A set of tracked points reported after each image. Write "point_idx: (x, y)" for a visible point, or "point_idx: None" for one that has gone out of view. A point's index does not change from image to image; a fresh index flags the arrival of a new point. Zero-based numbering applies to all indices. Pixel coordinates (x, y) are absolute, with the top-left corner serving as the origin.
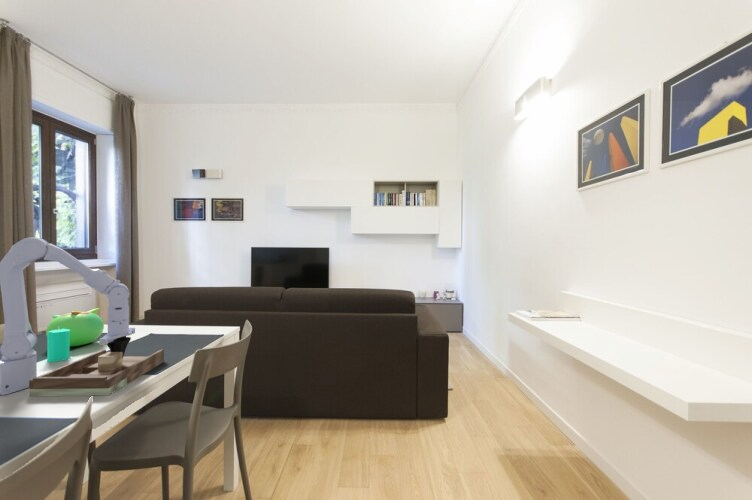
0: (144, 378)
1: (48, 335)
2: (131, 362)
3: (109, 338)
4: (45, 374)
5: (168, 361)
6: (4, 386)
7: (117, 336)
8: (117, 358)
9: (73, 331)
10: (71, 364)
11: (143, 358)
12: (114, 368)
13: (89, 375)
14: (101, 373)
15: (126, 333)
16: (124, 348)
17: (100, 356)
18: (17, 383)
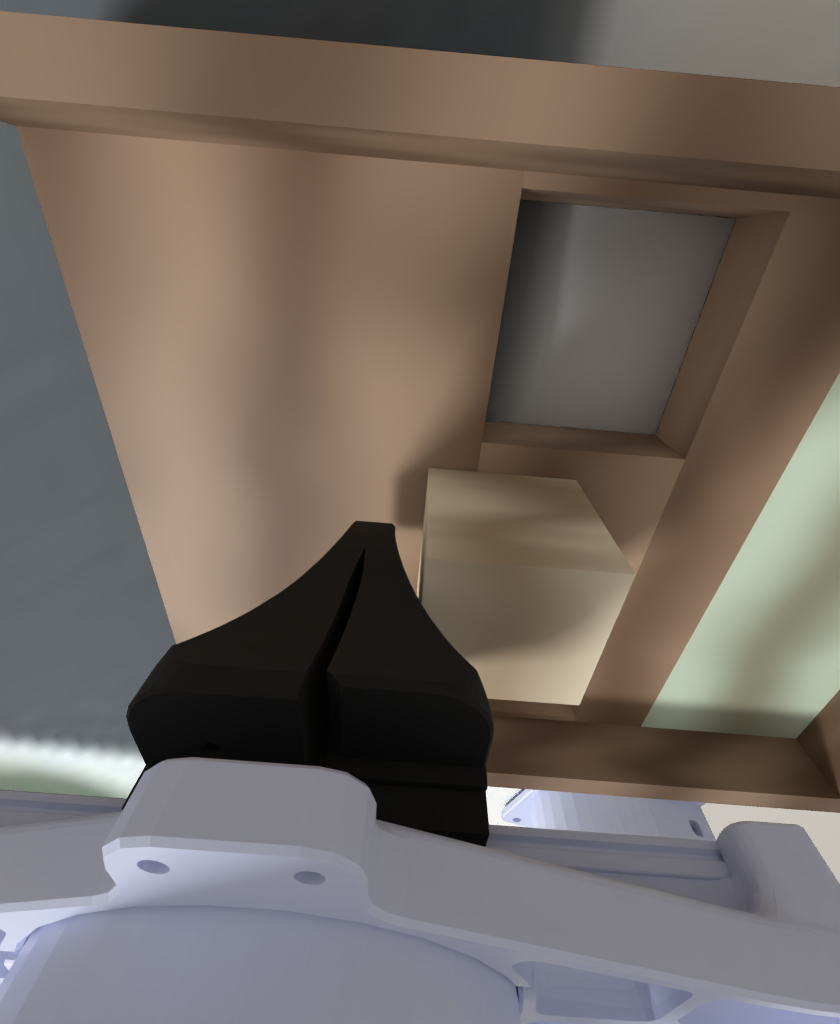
0: (747, 5)
1: None
2: (327, 426)
3: (796, 973)
4: (758, 797)
5: (29, 7)
6: (709, 836)
7: (600, 930)
8: (525, 530)
9: None
10: (540, 773)
11: (173, 360)
12: (553, 483)
13: (660, 592)
14: (639, 532)
15: (323, 905)
16: (331, 589)
17: (583, 688)
18: (666, 819)
